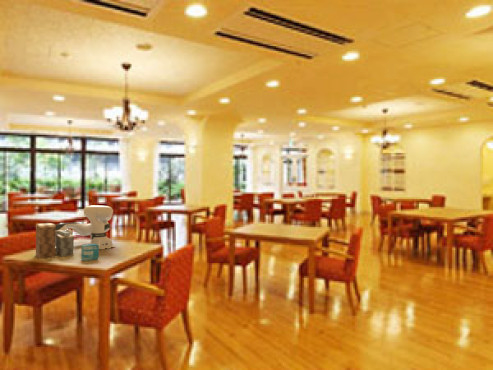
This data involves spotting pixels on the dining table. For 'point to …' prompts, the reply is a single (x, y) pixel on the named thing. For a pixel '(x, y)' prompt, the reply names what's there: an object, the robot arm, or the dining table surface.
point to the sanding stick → (63, 233)
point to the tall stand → (45, 240)
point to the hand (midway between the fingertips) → (61, 230)
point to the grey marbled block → (64, 245)
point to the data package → (89, 252)
